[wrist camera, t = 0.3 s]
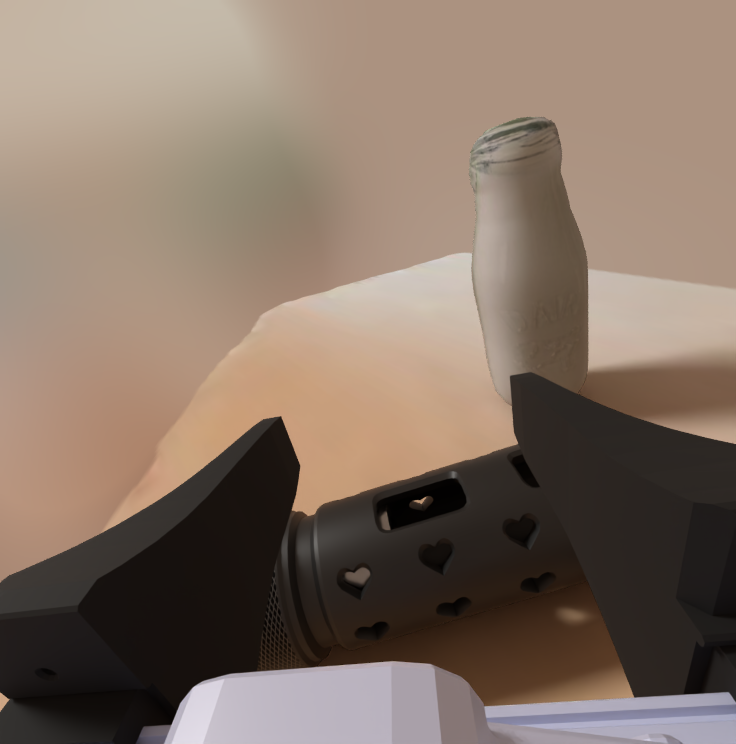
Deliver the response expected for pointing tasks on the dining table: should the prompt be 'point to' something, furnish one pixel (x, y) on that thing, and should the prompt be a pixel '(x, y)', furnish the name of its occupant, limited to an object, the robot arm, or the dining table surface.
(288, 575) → the muzzle brake
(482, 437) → the dining table surface
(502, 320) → the grey bottle
